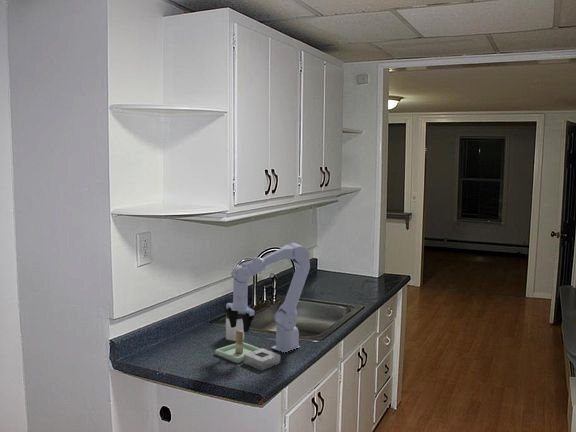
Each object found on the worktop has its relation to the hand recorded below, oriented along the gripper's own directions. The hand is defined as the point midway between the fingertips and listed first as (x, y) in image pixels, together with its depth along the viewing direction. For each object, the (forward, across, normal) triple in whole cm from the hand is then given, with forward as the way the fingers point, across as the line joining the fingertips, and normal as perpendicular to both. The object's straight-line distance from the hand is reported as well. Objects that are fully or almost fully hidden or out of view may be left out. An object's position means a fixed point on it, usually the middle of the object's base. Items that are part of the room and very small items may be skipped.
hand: (239, 329), depth 224 cm
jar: (+11, -16, +12) cm, 23 cm away
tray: (+10, 0, 0) cm, 10 cm away
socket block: (+10, +13, 0) cm, 17 cm away
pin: (+10, 0, 0) cm, 10 cm away
